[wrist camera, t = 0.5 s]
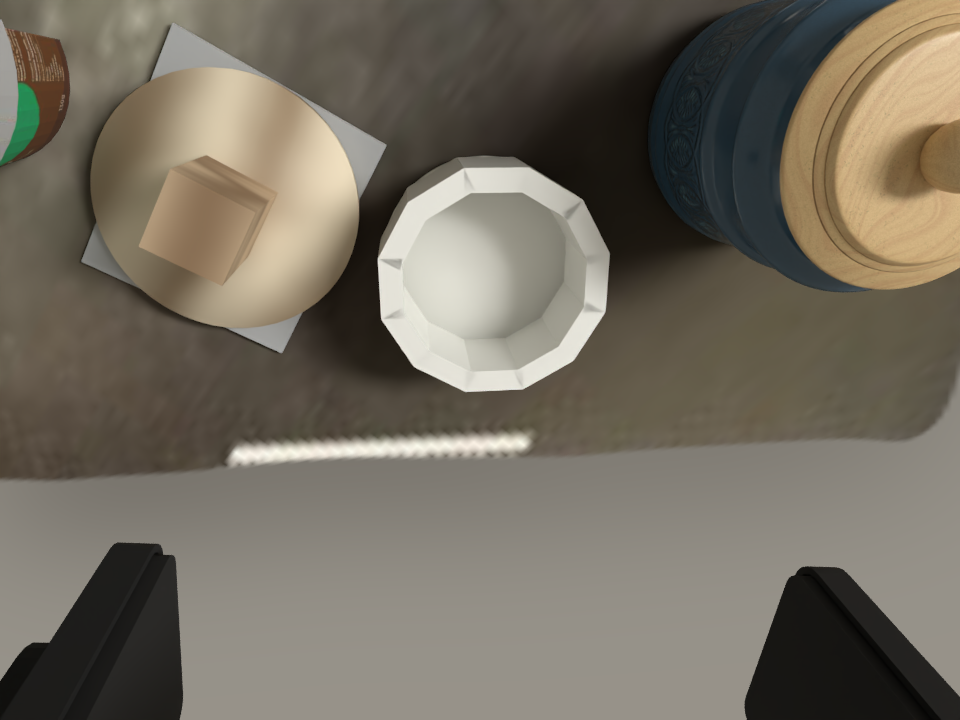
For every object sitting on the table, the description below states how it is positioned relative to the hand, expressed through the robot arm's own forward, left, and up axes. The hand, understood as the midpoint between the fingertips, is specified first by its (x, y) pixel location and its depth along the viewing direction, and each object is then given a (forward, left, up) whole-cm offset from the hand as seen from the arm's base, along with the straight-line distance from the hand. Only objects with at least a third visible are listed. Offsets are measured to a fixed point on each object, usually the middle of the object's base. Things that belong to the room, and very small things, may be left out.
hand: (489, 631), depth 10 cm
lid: (-10, -4, -31) cm, 33 cm away
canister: (+14, +14, -32) cm, 38 cm away
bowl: (+4, 0, -32) cm, 32 cm away
